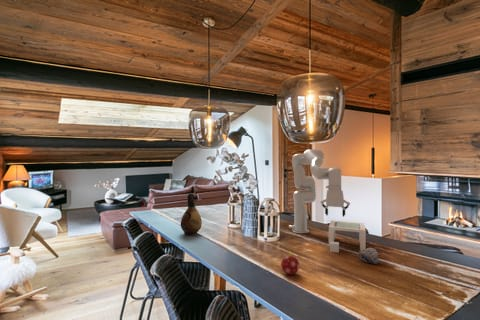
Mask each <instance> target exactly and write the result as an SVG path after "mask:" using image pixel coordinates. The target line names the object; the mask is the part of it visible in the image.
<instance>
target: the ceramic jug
mask: <svg viewBox="0 0 480 320" xmlns="http://www.w3.org/2000/svg"><path fill="white" fill-rule="evenodd" d="M198 201H199V198H198V196H195V195H194V193H192V192H190V193H188V194H187V209H186V210H185V212H184V213H183V215H182V216H181V220H180V228H181V230H182V231H183V234H184V236H187V237H190V236H191V237H193V236H196V235H197V234H198V233H199V231H200V230H201V228H202V224H203V223H202V217H201V214H200V212H199V211H198V209H197V208H196V206H195V202H198Z"/></svg>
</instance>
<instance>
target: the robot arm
mask: <svg viewBox="0 0 480 320" xmlns="http://www.w3.org/2000/svg"><path fill="white" fill-rule="evenodd" d="M324 157H325V155H324V152H323V150H321V149H317V148H316V149H315V148H314V149H312V148H311V149H306V150H305V151H304V152H303V153H296V154H293V156H292V157H291V166H292V168H293V179H294V187H295V188H296V189H299V190H295V191H294V192H293V194H292V198H293V206H294V207H293V211H294V213H293V214H294V217H293V219H294V220H293V221H294V222H293V225H291V224H288V228H289V229H291V231H292V232H293V233H295V234H296V233H297V234H308V233H309V232H310V230H309V229H308V208H307V206H306V205H305V203H307V204H308V203H314V202H315V201H316V199H317V194H316V193H317V191H316V181H315V179H317V180H328V185H326V186H325V189H327V190H326V195H325V196H326V198H325V199H323V200H321V201H320V204H321V206H322V208H324V214H325V216H328V215H329V208H328V207H333V208H341V209H342V213H341V214H342V217H345V216H346V210H347V209H348V208H349V206H350V205H351V203H350V202H349V201H347V200H346V199H344V191H343V190H342V169H341V168H338V167H336V168H335V167H322V166H323V162H324ZM305 165H306V166H310V167H309V168H310V173H311V174H312V176H310V175H309V176H306V169H305V168H304V167H303V166H305ZM314 178H315V179H314ZM301 189H302V190H301ZM344 204H346V206H344Z"/></svg>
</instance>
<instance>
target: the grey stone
mask: <svg viewBox="0 0 480 320" xmlns="http://www.w3.org/2000/svg"><path fill="white" fill-rule="evenodd" d="M329 252H330V253H338V254H339V253H340V242H339V241H334V242H332V241H331V242H330V247H329Z"/></svg>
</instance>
